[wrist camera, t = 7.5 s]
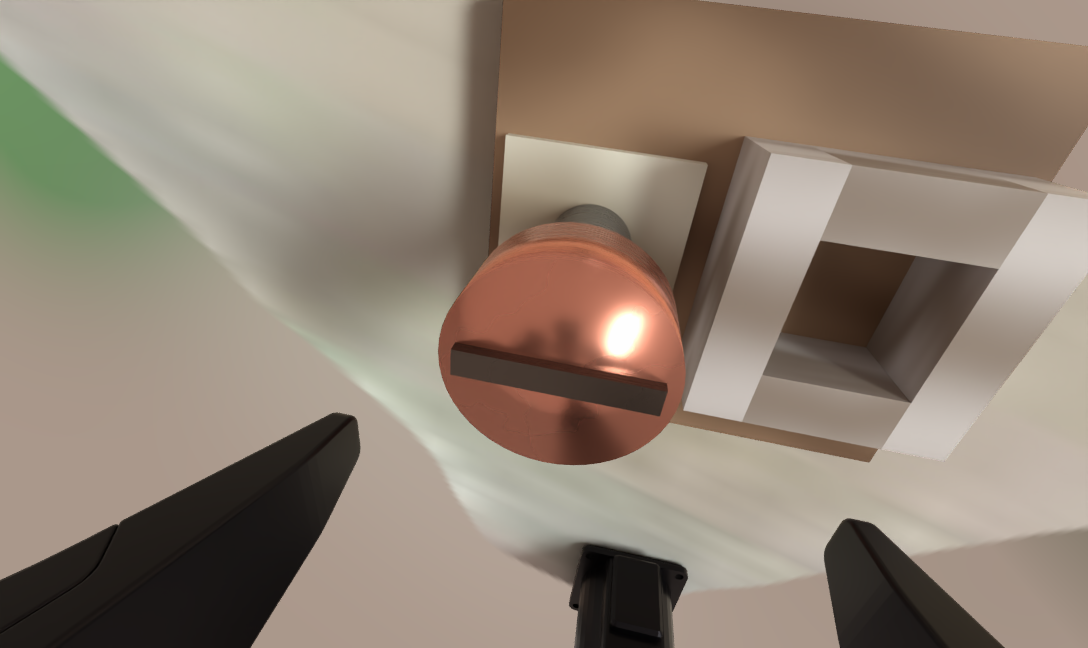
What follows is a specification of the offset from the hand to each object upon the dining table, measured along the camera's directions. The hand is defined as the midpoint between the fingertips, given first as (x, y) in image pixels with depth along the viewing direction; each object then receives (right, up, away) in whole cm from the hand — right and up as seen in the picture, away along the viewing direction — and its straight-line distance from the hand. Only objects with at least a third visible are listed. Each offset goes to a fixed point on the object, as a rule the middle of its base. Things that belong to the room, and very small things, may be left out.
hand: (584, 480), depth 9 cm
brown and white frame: (+6, +6, +10) cm, 13 cm away
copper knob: (+1, +6, +9) cm, 11 cm away
